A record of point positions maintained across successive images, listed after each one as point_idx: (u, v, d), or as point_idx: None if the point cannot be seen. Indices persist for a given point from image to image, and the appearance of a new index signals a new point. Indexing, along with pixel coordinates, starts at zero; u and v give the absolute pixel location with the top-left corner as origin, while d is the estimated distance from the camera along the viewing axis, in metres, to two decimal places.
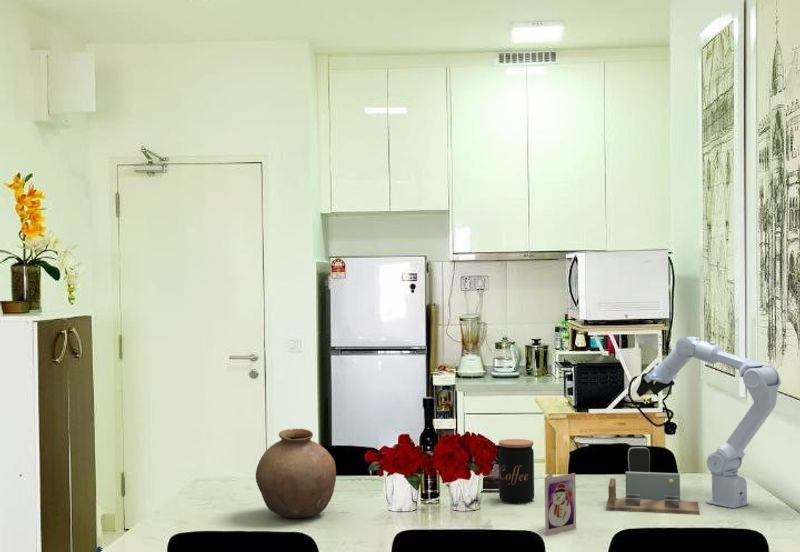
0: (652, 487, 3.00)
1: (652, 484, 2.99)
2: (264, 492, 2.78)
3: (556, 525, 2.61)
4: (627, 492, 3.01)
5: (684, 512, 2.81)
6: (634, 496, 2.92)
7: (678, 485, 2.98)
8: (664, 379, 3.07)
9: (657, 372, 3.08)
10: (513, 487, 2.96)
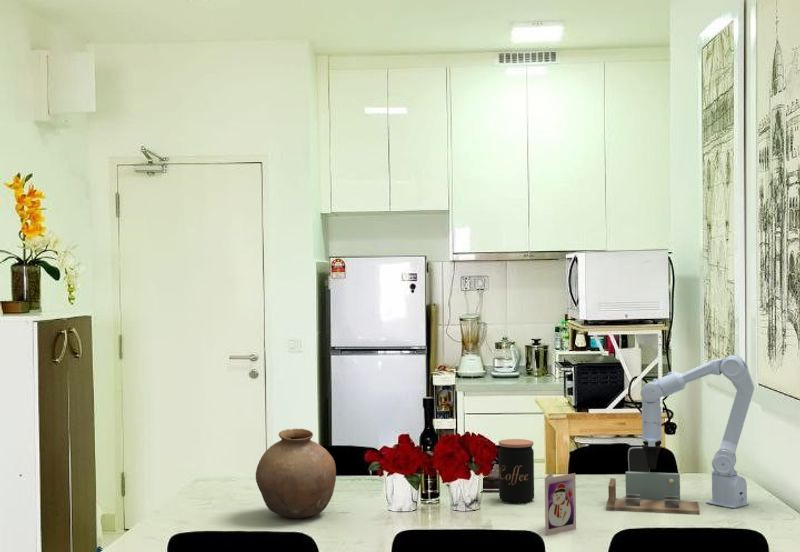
0: (652, 487, 3.00)
1: (652, 484, 2.99)
2: (264, 493, 2.78)
3: (556, 525, 2.61)
4: (627, 492, 3.01)
5: (684, 512, 2.81)
6: (634, 496, 2.92)
7: (678, 485, 2.98)
8: (659, 436, 2.98)
9: (649, 435, 2.98)
10: (513, 487, 2.96)
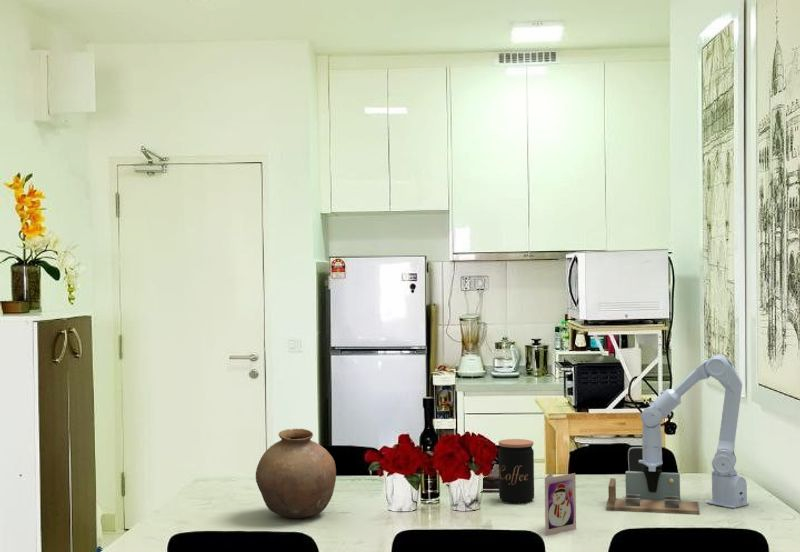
0: None
1: None
2: (264, 493, 2.78)
3: (556, 525, 2.61)
4: (627, 492, 3.01)
5: (684, 512, 2.81)
6: (634, 496, 2.92)
7: (678, 485, 2.98)
8: (659, 460, 2.98)
9: (649, 460, 2.98)
10: (513, 487, 2.96)
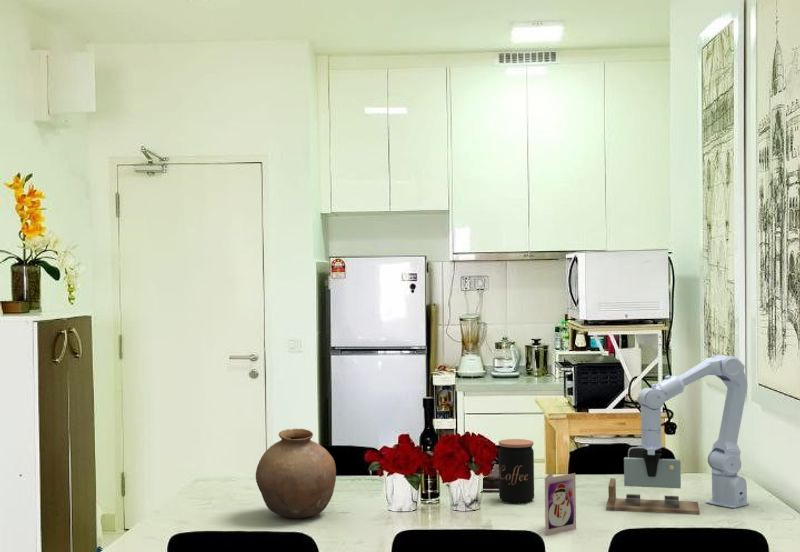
0: None
1: None
2: (264, 493, 2.78)
3: (556, 525, 2.61)
4: (626, 479, 2.90)
5: (684, 512, 2.81)
6: (634, 496, 2.92)
7: (679, 471, 2.86)
8: (659, 444, 2.87)
9: (648, 443, 2.87)
10: (513, 487, 2.96)
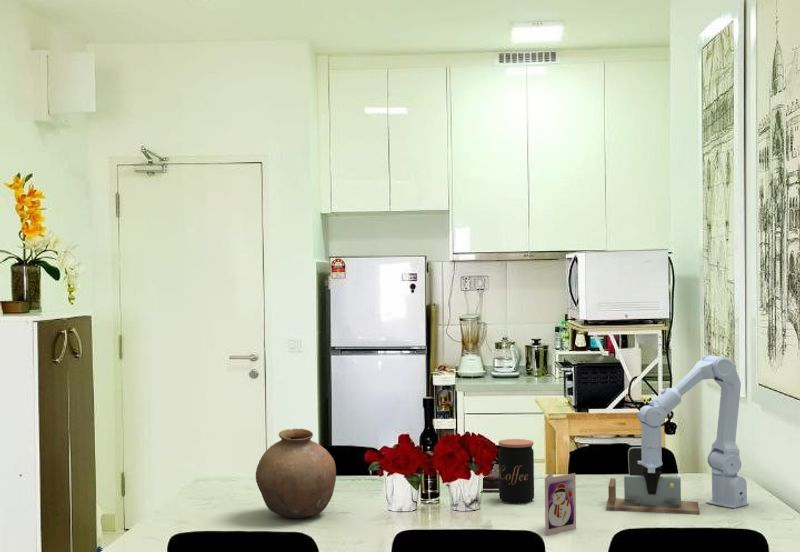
0: None
1: None
2: (264, 493, 2.78)
3: (556, 525, 2.61)
4: (626, 497, 2.90)
5: (684, 512, 2.81)
6: None
7: (679, 489, 2.86)
8: (659, 461, 2.87)
9: (649, 461, 2.87)
10: (513, 487, 2.96)
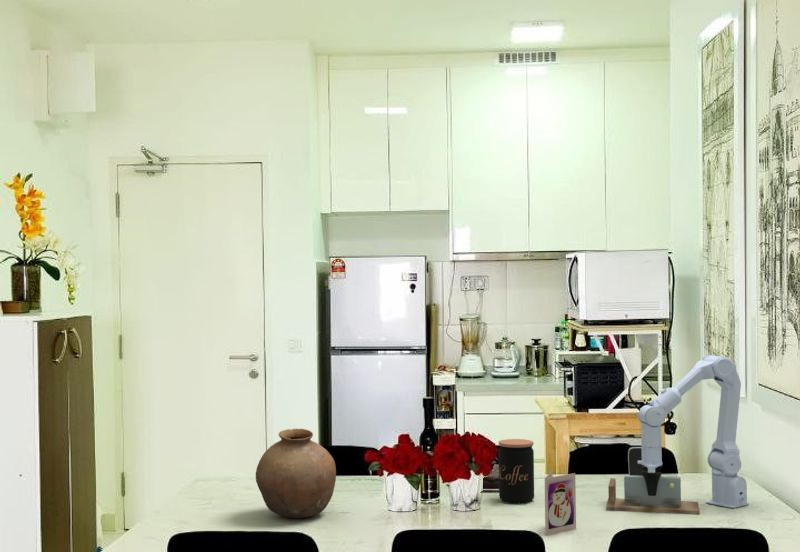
0: None
1: None
2: (264, 493, 2.78)
3: (556, 525, 2.61)
4: (626, 497, 2.90)
5: (684, 512, 2.81)
6: None
7: (679, 489, 2.86)
8: (659, 461, 2.87)
9: (649, 461, 2.87)
10: (513, 487, 2.96)
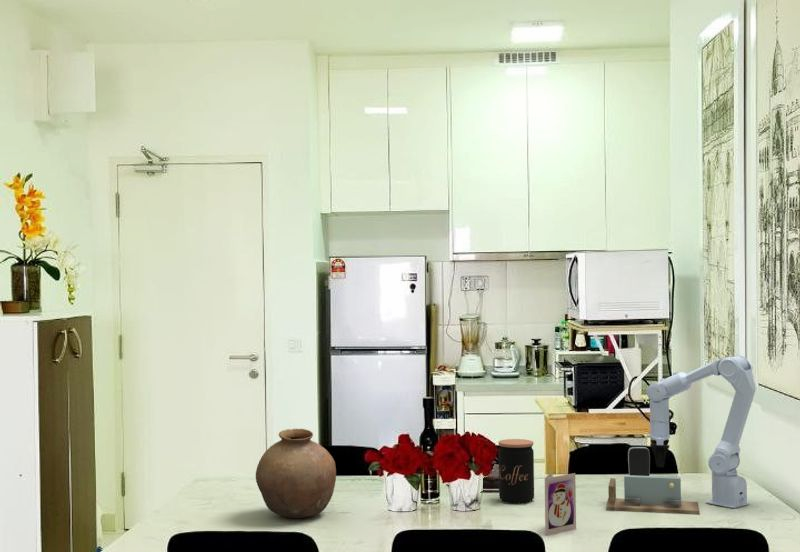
0: (651, 491, 2.88)
1: (652, 488, 2.88)
2: (264, 493, 2.78)
3: (556, 525, 2.61)
4: (626, 497, 2.90)
5: (684, 512, 2.81)
6: None
7: (679, 489, 2.86)
8: (667, 434, 3.03)
9: (657, 434, 3.03)
10: (513, 487, 2.96)
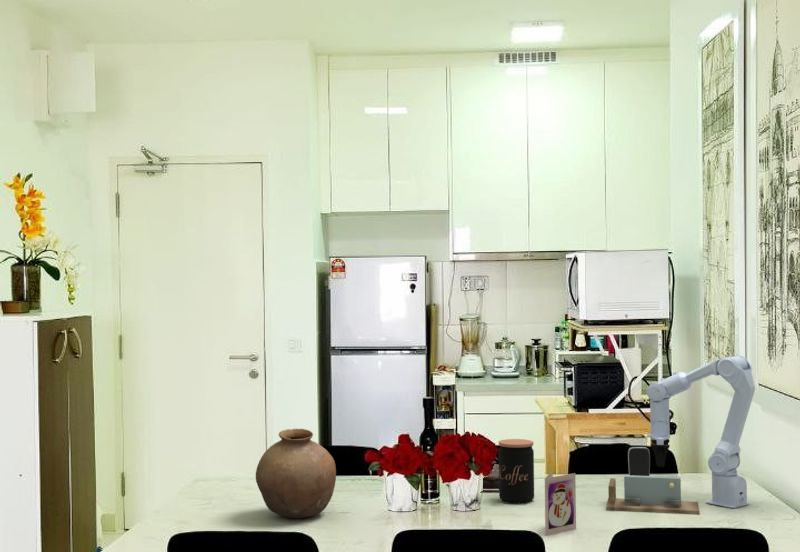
0: (651, 491, 2.88)
1: (652, 488, 2.88)
2: (264, 493, 2.78)
3: (556, 525, 2.61)
4: (626, 497, 2.90)
5: (684, 512, 2.81)
6: None
7: (679, 489, 2.86)
8: (667, 434, 3.04)
9: (657, 434, 3.04)
10: (513, 487, 2.96)
